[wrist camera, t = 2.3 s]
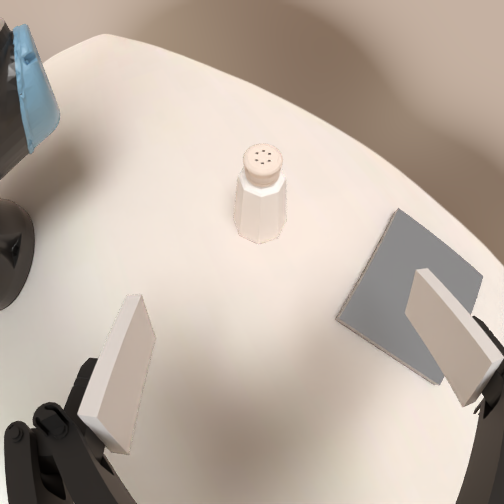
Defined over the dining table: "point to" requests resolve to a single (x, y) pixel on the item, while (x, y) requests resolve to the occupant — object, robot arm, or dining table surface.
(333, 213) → the dining table surface
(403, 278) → the plate
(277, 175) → the salt shaker
